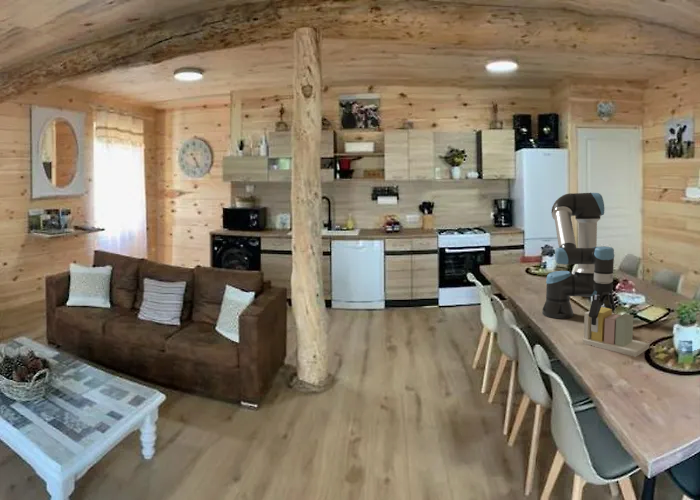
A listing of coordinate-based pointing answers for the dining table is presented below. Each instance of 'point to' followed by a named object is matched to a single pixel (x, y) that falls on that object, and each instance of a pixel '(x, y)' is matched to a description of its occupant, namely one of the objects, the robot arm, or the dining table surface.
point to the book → (601, 324)
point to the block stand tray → (616, 335)
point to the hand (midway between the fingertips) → (601, 327)
